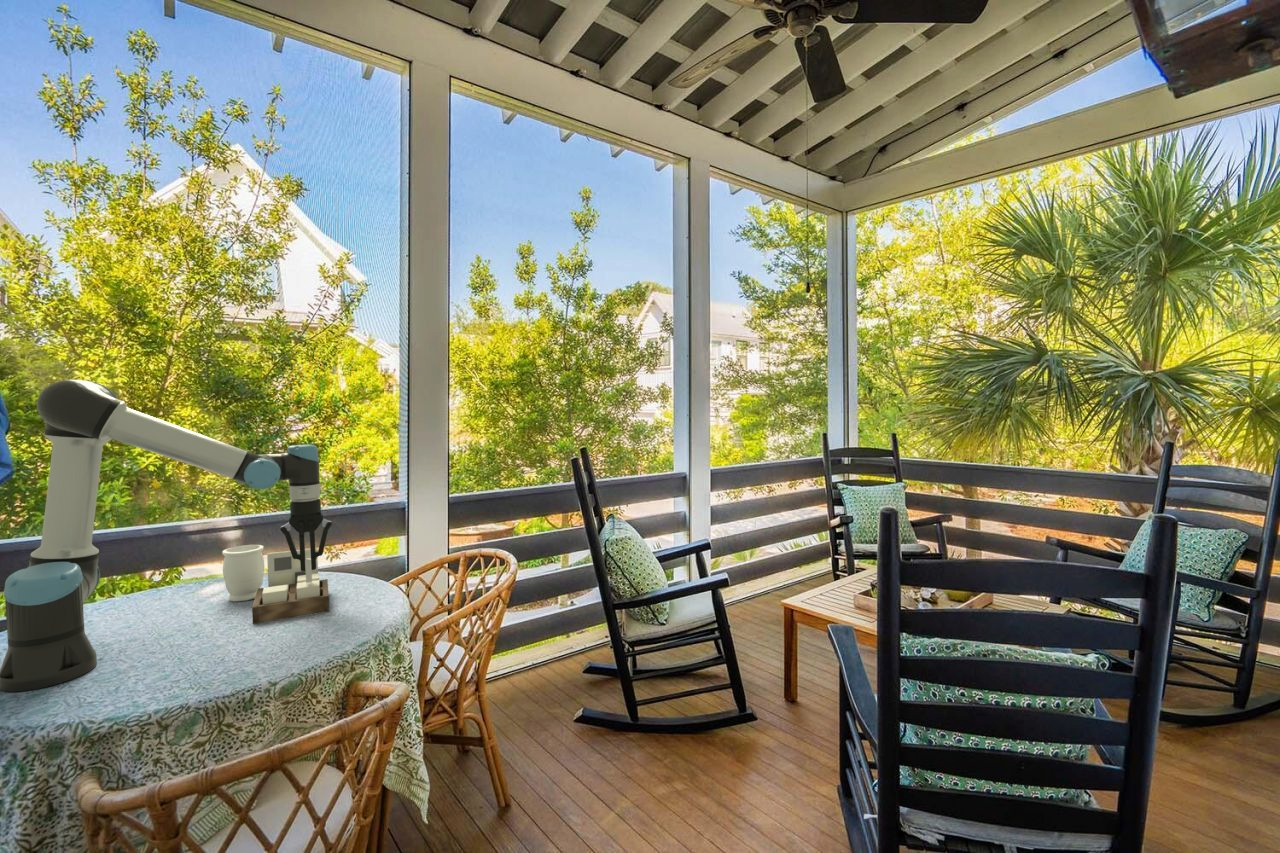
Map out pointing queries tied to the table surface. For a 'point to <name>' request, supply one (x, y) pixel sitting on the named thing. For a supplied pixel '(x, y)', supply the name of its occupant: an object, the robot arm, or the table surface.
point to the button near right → (308, 589)
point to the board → (290, 605)
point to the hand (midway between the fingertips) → (309, 581)
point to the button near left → (275, 594)
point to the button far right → (303, 578)
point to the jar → (243, 571)
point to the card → (286, 567)
